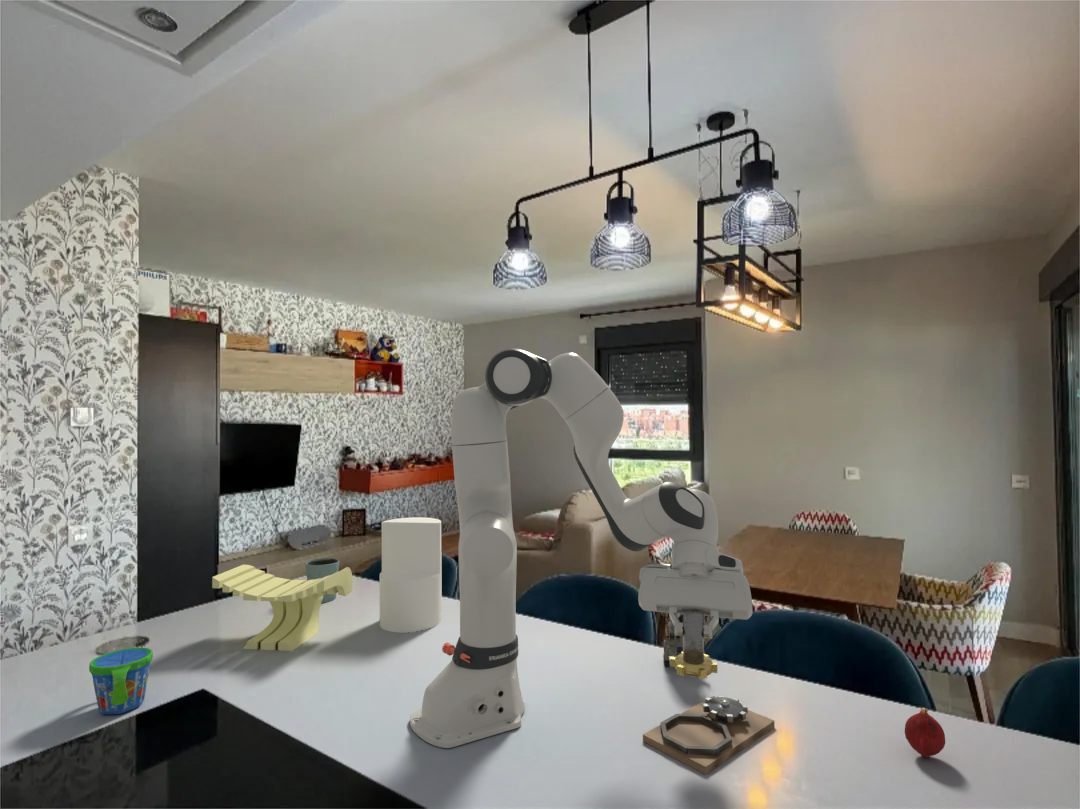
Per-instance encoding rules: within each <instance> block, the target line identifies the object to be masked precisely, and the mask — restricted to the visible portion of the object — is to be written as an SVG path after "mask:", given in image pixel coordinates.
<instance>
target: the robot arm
mask: <svg viewBox="0 0 1080 809" xmlns="http://www.w3.org/2000/svg"><path fill="white" fill-rule="evenodd" d="M484 377H485V378H484V380H485V381H484V383H483V384H481V385H480V386H473V387H469V388H466V389H463V390H461V391H460V392H459V393H458V394H457V395H456V396H455V397H454V399H453V402H452V409H451V410H452V411H451V420H450V422H451V423H450V424H451V425H450V426H451V428H450V429H451V430H450V432H451V433H450V434H451V435H450V436H451V452H452V462H453V465H452V466H453V476H454V477H453V478H454V487H455V495H456V502H457V512H458V520H459V521H458V522H459V540H458V546H457V547H458V549H457V550H458V583H459V585H458V586H459V587H458V589H459V637H458V640H457V642H456V644H455V645H453V644H451V643H450V642H445V643H444V644H443V645H442V646H441V648H442V649H441V650H442V653H444V654H446V655H447V656H449V657H450V656H451V657H452V659H451V661H450V662H449V663H448V664H447V665H446V667H444V668H443V670H442V671H441V672H440V673H438V674H437V676H436V677H435V678H434V679H433V680H432V681H431V682H430V683H429V684H428V685H427V687H426V689H425V690H424V694H423V698H422V704H421V705H422V706H421V708H420V709H418V710H417V711H415V712H413V713H412V714H411V715H410V718H409V726H410V728H411V730H412V731H413V732H414V733H415V734H416V735H417V736H418V737H420V738H421V740H422V741H425V742H427V743H428V744H431V745H432V746H435V747H438V748H444V749H451V748H455V747H459V746H461V745H465V744H468V743H471V742H474V741H479V740H482V739H484V738H488V737H492V736H495V735H498V734H502V733H505V732H508V731H511V730H515V729H518V728H520V727H521V726H522V720H521V718H522V716H523V714H524V713H525V709H526V706H525V702H524V699H523V695H522V691H521V687H520V681H519V680H520V678H519V674H518V673H519V672H518V660H517V659H518V656H519V637H518V635H517V634H516V633H517V620H516V619H517V618H516V617H517V616H516V615H517V614H516V613H517V612H516V604H517V603H516V600H517V599H516V598H517V596H516V593H517V562H518V560H517V559H518V558H517V556H518V552H517V551H518V550H517V548H518V545H517V544H518V543H517V537H516V534H515V530H514V522H513V507H512V491H511V490H512V488H511V472H510V471H511V470H510V458H509V449H508V448H509V447H508V436H507V415H508V413H509V411H510V410H512V409H514V408H517V407H520V406H524V405H527V404H529V403H531V402H532V401H534V400H535V399H543V400H545V401H547V402H548V403H550V405H552V406H553V407H554V409H555V410H556V411H557V412H558V414H559V416H560V417H561V418H562V419H563V420H564V422H565V423H566V425H567V426H568V429H569V431H570V433H571V435H572V436H571V437H572V439H573V442H574V444H573V445H574V446H573V456H574V459H575V461H576V463H577V466H578V468H579V469H580V471H581V473H582V475H583V477H584V479H585V481H586V482H587V484H588V486H589V488H590V489H591V492H592V493H593V495H594V497H595V499H596V501H597V502H598V505H599V506H600V508H601V510H602V511H603V514H604V515H605V518H606V520H607V523H608V526H609V530H610V532H611V534H612V536H613V538H614V539H615V541H616V542H617V543H618V544H619V545H620V546H622V547H624V548H625V549H627V550H629V551H630V552H631V551H632V552H641V551H644V550H646V549H647V548H648V547H651V546H652V545H654V544H655V543H657V542H658V541H662V540H664V539H665V538H669V539H670V540H672V541H673V546H672V552H671V564H668V563H654V562H649V563H647V564H646V565H643V566H642V567H641V568H640V569H639V576H638V578H639V582H640V584H639V585H640V586H639V589H638V593H637V594H638V595H637V596H638V597H637V600H638V605H639V607H640V608H641V609H642V610H643V611H647V612H649V611H650V612H656V613H657V612H658V613H668V615H669V616H670V617H669V619H670V621H672V623H673V625H674V626H675V627H674V633H675V635H677V636H683V623H679V622H678V620H677V619H676V618H677V614H683V610H685V609H697V610H701V611H703V612H704V617H710V622H709V623H708V624H704V639H708V640H712V639H713V631H714V630H715V628H716V627H717V626H718V624H719V623H720V622H719V619H720V618H721V619H722V618H723V619H735V620H743V621H744V620H746V621H747V620H749V619H750V618H751V617H752V615H753V598H752V593H751V588H750V583H749V580H748V578H747V576H745V574H744V564H743V562H742V560H741V559H739V558H736V557H733V556H730V555H727V554H725V553H722V552H719V549H718V545H717V544H718V540H719V518H718V517H719V516H718V512H717V507H716V503H715V501H714V499H713V498H712V497H711V495H709V494H708V493H707V492H706V491H703V490H700V489H696V488H692V489H691V488H689V489H688V488H686V487H684V486H683V485H681V484H679V483H676V482H673V481H665V482H662V483H660V484H659V485H657V486H654V487H652V488H650V489H649V490H647V491H645V492H644V493H642V494H640V495H638V496H636V497H634V498H630V497H628V496H626V494H625V493H624V491H623V489H622V487H621V486H620V484H619V482H618V480H617V478H616V476H615V475H614V473H613V471H612V469H611V467H610V463H609V455H610V454H609V453H610V451H611V448H612V447H613V444H614V443H615V441H616V440H617V439H618V436H619V435H620V432H622V427H623V424H624V410H623V407H622V405H621V403H620V401H619V399H618V397H617V396H616V395H615V393H614V392H613V390H612V389H611V388H610V387H609V386H608V384H607V383H606V381H605V380H604V379H603V377H602V376H600V375H599V373H598V372H597V371H596V370H595V369H594V368H593V367H592V366H591V365H590V364H589V363H588V362H587V361H586V360H585V359H584V358H582V356H580V355H579V354H577V353H575V352H565V353H560V354H558V355H556V356H555V357H553V358H552V359H550V360H547V359H545V358H543V357H540V356H539V355H536V354H534V353H531V352H530V351H527V350H525V349H521V348H506V349H504V350H503V349H502V350H501V351H498V352H497V353H495V355H494V356H492V358H491V359H490V360H489V362H488V364H487V366H486V368H485V374H484Z"/></svg>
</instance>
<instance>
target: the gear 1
mask: <svg viewBox="0 0 1080 809" xmlns="http://www.w3.org/2000/svg"><path fill="white" fill-rule="evenodd" d="M704 617H705V616H704V612H703V611H701V610H697V609H685V610H683V652H681V654H680V655H677V656H676V657H672V656H671V657H670V656H669V660H670V665H669V667H670V668H674V670H676V675H678V676H681V677H684V676H687V677H693V678H699V679H701V680H702V679H703V680H704V679H707V678H708V676H710V675H711V674H712V673H713V674H718V672H719V671H718V662H715V661H713V660H712V659H711V657H710V655H708V654H707V655H706V654H704V653H705V643H704V642H705V638H704V625H705V624H704V623H705V622H704V621H705V620H704V619H705V618H704Z"/></svg>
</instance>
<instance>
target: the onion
mask: <svg viewBox="0 0 1080 809" xmlns="http://www.w3.org/2000/svg"><path fill="white" fill-rule="evenodd" d="M904 734H905V735H904V736H905V739H906V741H907V742H908V744H909V746H910V747H911V748H912V749H913V750H914V751H915V752H917V753H918V754H919V755H921V756H922V757H924V758H930V757H931V756H932V757H933V756H936V755H938V754H939V753H941V751H942V750H943V749H944V748H945V746H946V745H945V744H946V735H945V731H944V729H943V727H942V725H941V724H940V723H939V722H938V721H937V719H935V718H934V717H933V716H932V715H930V714H929V713H928V709H927V708H925V707H922V708H920V711H919V712H918V713H916V714H913V715H911V716H910V717H909V718H907V720H906V722H905V725H904Z"/></svg>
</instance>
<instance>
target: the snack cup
mask: <svg viewBox="0 0 1080 809" xmlns="http://www.w3.org/2000/svg"><path fill="white" fill-rule="evenodd" d="M153 652H154V651H153V650H152V648H148V647H142V646H141V647H139V646H138V647H128V648H122V649H117V650H113V651H110V652H106V653H104V654H101V655H99V656H97V657H95V658H94V659H92V660H91V661H90V662H89V667H88V669H89V673H90V674H91V676H92V683H93V686H94V693H95V694H94V695H95V699H96V704H97V708H98V711H99V713H100V714H101V715H121V714H123V713H126V712H130V711H132V710H134V709H136V708H138V707H140V706H141V705H142V704H143V702H144V701H145V697H146V692H147V687H148V686H147V684H148V679H149V674H150V666H151V663H152V661H153V659H154V653H153Z"/></svg>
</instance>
